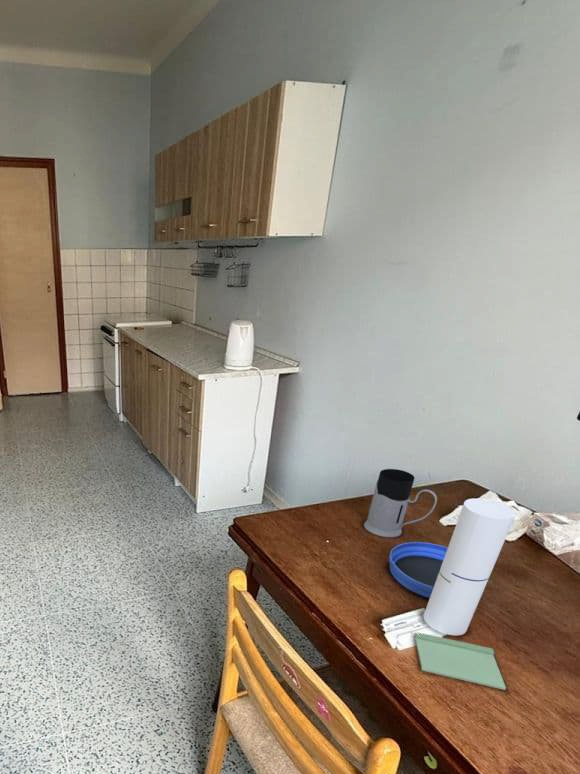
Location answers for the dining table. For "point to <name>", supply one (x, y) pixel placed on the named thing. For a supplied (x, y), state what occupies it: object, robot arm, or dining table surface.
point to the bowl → (417, 565)
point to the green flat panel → (458, 660)
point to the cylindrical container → (468, 564)
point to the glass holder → (391, 503)
